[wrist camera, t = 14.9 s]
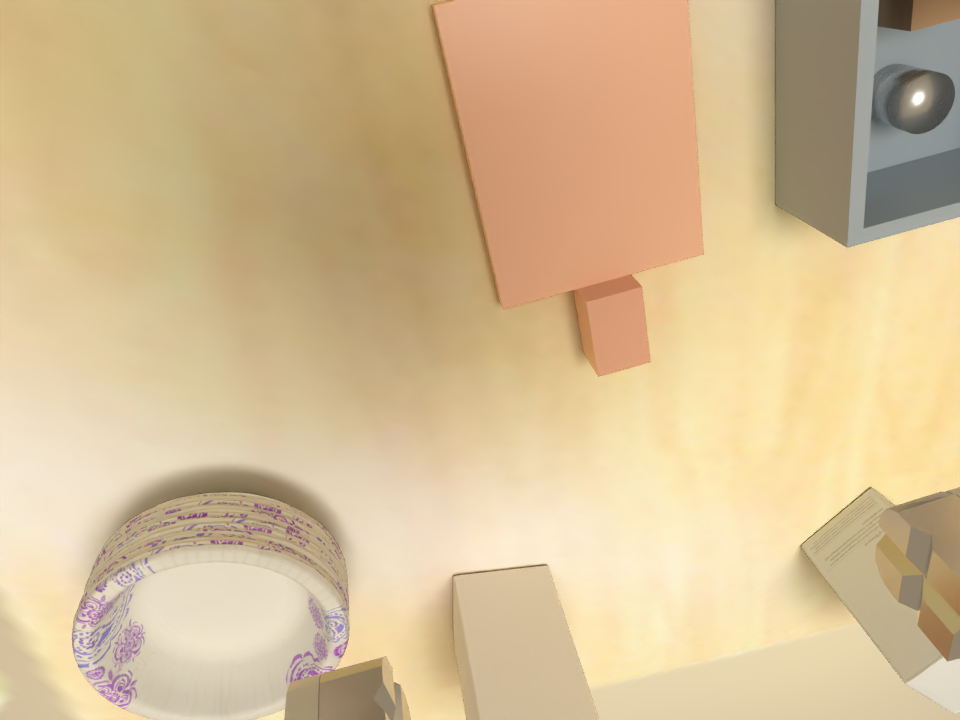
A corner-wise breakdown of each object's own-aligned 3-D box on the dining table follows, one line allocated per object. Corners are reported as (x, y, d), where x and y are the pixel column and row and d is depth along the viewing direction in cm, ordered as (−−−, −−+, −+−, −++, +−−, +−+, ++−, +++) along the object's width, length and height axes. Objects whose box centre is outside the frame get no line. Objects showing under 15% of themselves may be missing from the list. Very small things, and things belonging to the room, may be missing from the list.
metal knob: (863, 71, 38) (901, 80, 36) (917, 57, 38) (958, 65, 36) (860, 127, 40) (896, 140, 37) (912, 114, 40) (951, 125, 37)
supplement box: (796, 545, 57) (902, 685, 47) (871, 483, 55) (1000, 615, 45) (845, 580, 61) (955, 718, 50) (918, 523, 59) (1048, 654, 48)
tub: (775, -117, 34) (868, -130, 28) (1015, -179, 34) (1158, -204, 28) (775, 204, 42) (847, 247, 36) (969, 152, 43) (1072, 186, 37)
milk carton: (452, 639, 56) (498, 922, 40) (452, 573, 53) (502, 854, 36) (542, 628, 57) (622, 899, 41) (547, 562, 54) (637, 830, 38)
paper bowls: (355, 614, 53) (358, 712, 46) (136, 641, 51) (105, 748, 44) (339, 446, 46) (338, 534, 39) (80, 468, 43) (32, 566, 37)
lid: (431, 4, 34) (438, 8, 32) (673, -59, 35) (700, -60, 32) (515, 371, 45) (526, 396, 42) (700, 319, 45) (721, 342, 43)
